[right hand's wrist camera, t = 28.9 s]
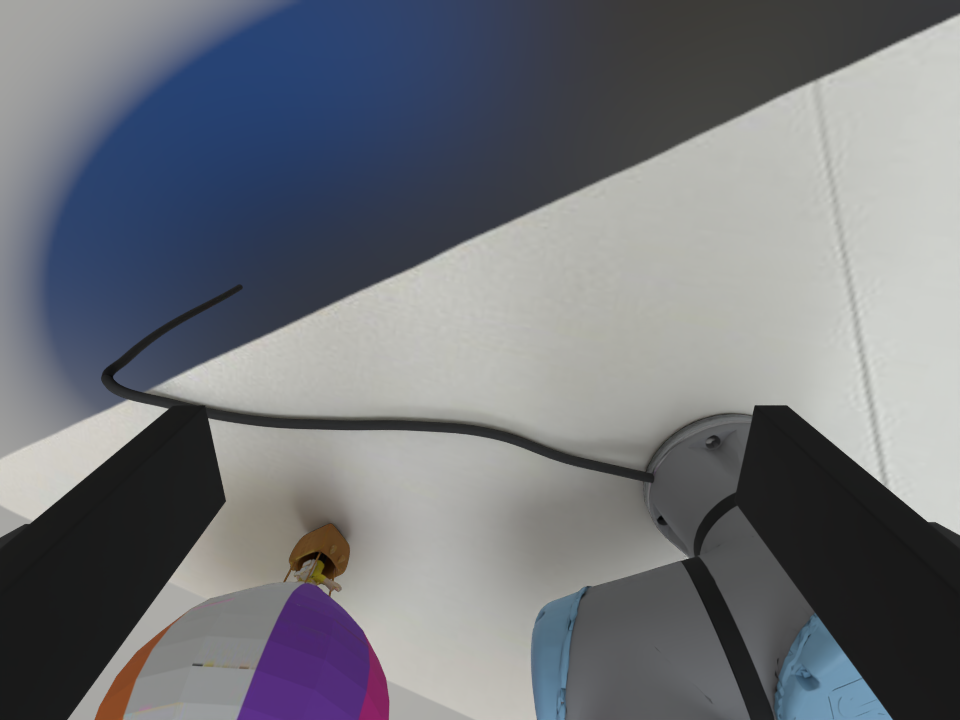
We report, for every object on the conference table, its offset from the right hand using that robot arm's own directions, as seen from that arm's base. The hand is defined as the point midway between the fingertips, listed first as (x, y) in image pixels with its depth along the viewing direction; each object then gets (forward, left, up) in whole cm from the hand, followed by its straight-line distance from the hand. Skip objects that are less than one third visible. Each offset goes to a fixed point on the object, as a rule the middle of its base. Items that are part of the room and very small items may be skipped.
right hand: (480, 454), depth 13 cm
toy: (-4, -35, -34) cm, 48 cm away
